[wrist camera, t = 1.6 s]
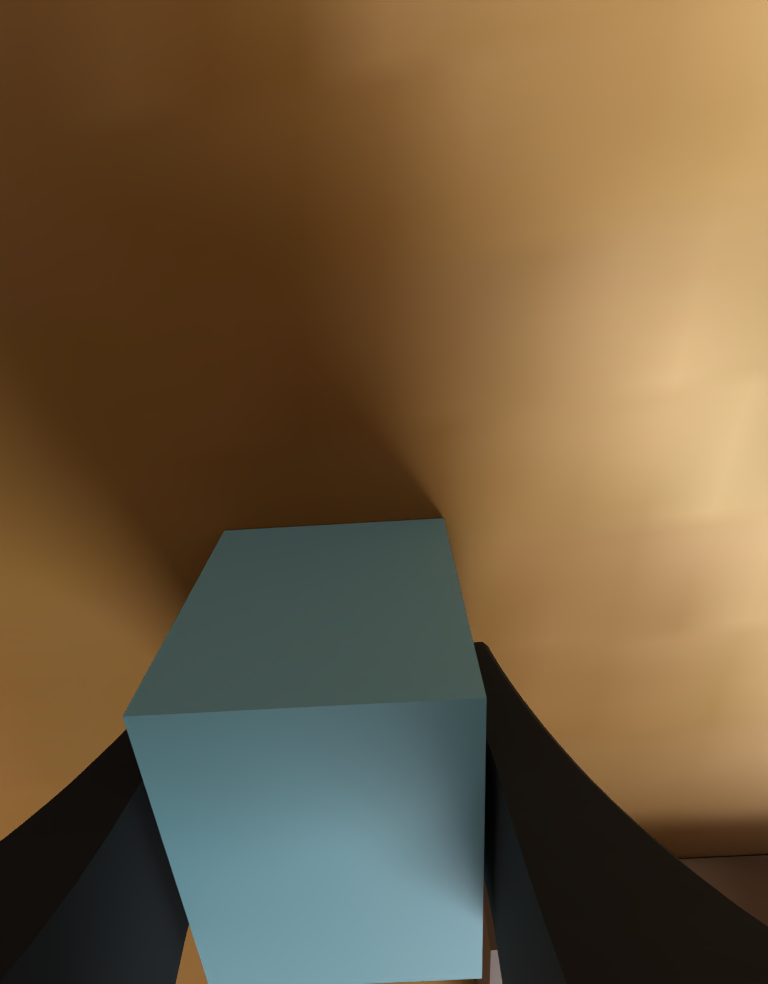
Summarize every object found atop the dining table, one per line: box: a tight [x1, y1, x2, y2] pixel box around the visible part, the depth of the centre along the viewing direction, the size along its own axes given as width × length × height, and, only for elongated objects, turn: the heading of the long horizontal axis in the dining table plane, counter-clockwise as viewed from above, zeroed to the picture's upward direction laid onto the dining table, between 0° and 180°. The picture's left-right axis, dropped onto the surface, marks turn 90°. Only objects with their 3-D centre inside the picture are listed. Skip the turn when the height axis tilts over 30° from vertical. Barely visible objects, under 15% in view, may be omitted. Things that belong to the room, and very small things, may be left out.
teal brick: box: [123, 518, 487, 984], centre depth 10 cm, size 4×6×5 cm
